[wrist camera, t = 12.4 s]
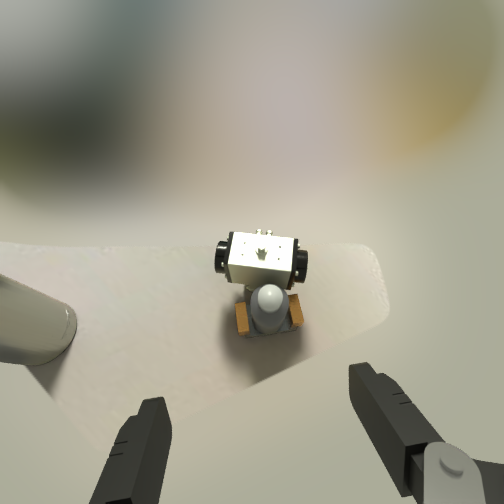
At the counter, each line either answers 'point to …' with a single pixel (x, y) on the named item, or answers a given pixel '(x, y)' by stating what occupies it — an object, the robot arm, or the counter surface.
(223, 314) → the counter surface
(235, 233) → the pneumatic valve
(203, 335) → the counter surface
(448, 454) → the robot arm
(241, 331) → the clip bracket
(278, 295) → the bottle
